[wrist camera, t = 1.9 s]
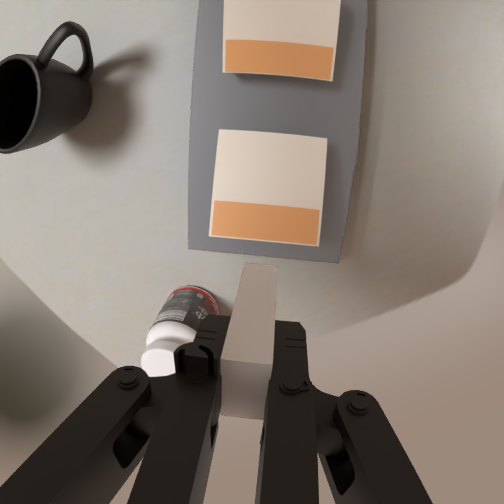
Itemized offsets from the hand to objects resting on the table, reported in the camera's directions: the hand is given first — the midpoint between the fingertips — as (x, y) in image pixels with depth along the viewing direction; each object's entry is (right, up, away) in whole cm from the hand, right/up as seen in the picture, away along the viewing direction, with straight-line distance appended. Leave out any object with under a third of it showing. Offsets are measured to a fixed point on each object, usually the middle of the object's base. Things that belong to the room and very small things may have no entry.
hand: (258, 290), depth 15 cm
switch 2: (+1, +6, +7) cm, 9 cm away
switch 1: (+2, +17, +2) cm, 17 cm away
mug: (-17, +18, +10) cm, 27 cm away
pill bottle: (-7, -4, +19) cm, 20 cm away
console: (+2, +19, +8) cm, 21 cm away
